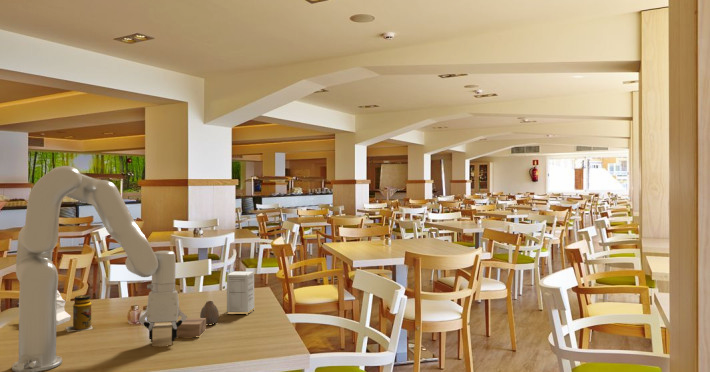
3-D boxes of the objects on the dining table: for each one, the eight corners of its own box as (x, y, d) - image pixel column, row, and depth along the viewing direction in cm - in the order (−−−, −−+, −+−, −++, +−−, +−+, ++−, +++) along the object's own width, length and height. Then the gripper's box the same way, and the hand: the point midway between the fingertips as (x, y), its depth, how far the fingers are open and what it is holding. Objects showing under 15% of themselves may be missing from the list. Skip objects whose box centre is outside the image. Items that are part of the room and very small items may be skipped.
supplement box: (254, 310, 226) (255, 271, 226) (248, 315, 216) (248, 274, 216) (233, 309, 227) (233, 270, 227) (225, 314, 217) (226, 274, 217)
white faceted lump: (53, 320, 212) (64, 285, 215) (72, 329, 204) (83, 293, 206) (21, 318, 202) (32, 282, 204) (39, 328, 194) (51, 290, 196)
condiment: (93, 329, 194) (93, 296, 194) (67, 332, 189) (67, 299, 189) (90, 324, 200) (91, 293, 200) (65, 327, 195) (66, 295, 196)
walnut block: (199, 338, 184) (199, 324, 184) (173, 338, 184) (173, 324, 184) (206, 331, 193) (206, 318, 193) (181, 331, 193) (181, 318, 193)
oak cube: (171, 345, 174) (171, 327, 174) (152, 346, 173) (152, 328, 173) (173, 340, 180) (173, 323, 180) (155, 341, 179) (155, 324, 179)
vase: (196, 325, 201) (196, 302, 201) (209, 321, 207) (209, 298, 207) (209, 327, 198) (209, 304, 198) (222, 323, 204) (222, 300, 204)
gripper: (134, 290, 171) (133, 345, 171) (189, 288, 175) (188, 342, 175) (138, 286, 179) (138, 339, 178) (191, 284, 182) (190, 336, 182)
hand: (163, 340), depth 177 cm, fingers closed on oak cube, 6 cm apart
